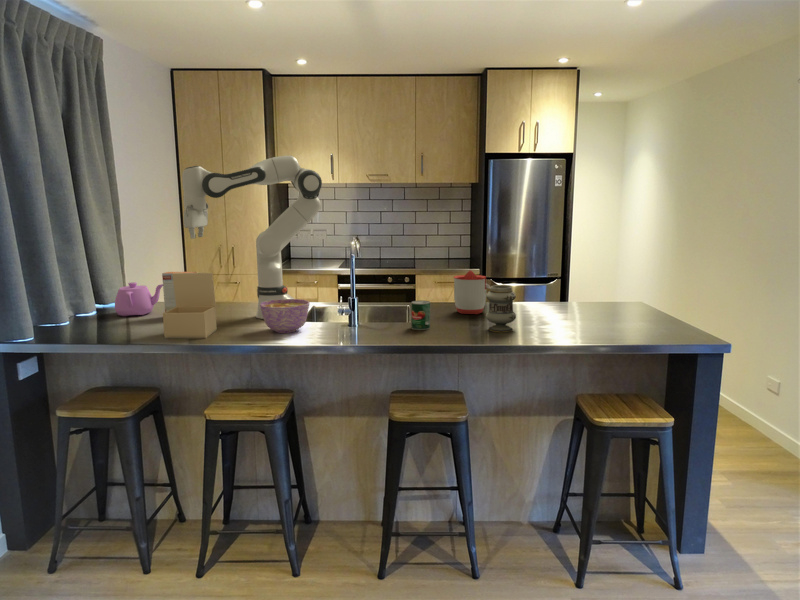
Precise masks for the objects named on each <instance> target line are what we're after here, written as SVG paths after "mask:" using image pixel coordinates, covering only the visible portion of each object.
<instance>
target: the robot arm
mask: <svg viewBox="0 0 800 600" xmlns="http://www.w3.org/2000/svg"><path fill="white" fill-rule="evenodd" d="M181 179H182V189H183V195H182V196H183V199H182V200H183V209H184V211H183V226H184V228H185V229H188V232H189V236H190V239H191V240H194V239H196V238H197V237H198V238H203V237H204V230H205V228H204V227H207V226H208V222H209V213H208V210H209V204H208V203H207V201H206V197H210V198H214V199H218V198H221V197H223V196H225V195H226V194H227V193H228V192H229V191H231V190H234V189H237V188H241V187H245V186H249V185H259V186H271V185H275V184H279V183H283V182H288V181H289V182H291V184H292V186H293V188H294V189H295V190H296V191H298V192H299V194H298V197H297V199H296V200H295V201H293V203H292V204H291V205H290V206H289V207H287V208H286V209H285V210H284V211H283V212H282V213H280V215H279V216H278V217H277V218H276V219H275V220H274V221H273V222H272V223H271V224H270V225H269V226H268V227H267V228H266V229H265V230H264V231H262V232H260V233H259V234H258V235H257V237H256V239H255V249H256V251H255V252H256V266H257V268H256V269H257V270H256V271H257V286H256V288H257V289H256V292H257V293H256V294H257V300H258V302H257V311H256V315H255V317H256V318H257V319H262V320H264V318H263V315H262V311H261V308H260V303H262V302H266V301H271V300H279V299H295V298H294V297H293V296H291V295H290V294H289V293H288V292H289V291H288V290H289V289H288V286H285V285H283V284H284V280H283V261H282V250H283V249H284V248H285V247H286V246H287V245H289V243H290V242H291V241H292V239H294V238H295V236H297V235H298V234H299V233H300V231H302V230H303V229H304V228H305V227H306V226H307V225H308V224H309V223H310V222H311V221H312V220H313V219H314V218H315V217H316V216H317V214H318V212H319V211H320V210H321V209H322V208H321V207H322V203H321V200H320V198H319V196H320V193H321V190H322V187H323V186H322V183H323V182H322V181H323V180H322V178H321V176H320V174H319V173H318V172H316V171H315V170H312V169H310V168H304V167H301V166H300V163H299V161H298V159H297V158H296V157H295V156H293V155H280V156H273V157H270V158H265V159H263V160H261V161H259V162H256V163H255V164H253V165H252V166H250V167H249V168H246V169H244V170H239V171H234V172H230V173H219V172H212V171H209V170H206V169H205V168H203V167H202V166H200V165H193V166H189V167H185V168H184V170H183V171H182V178H181ZM195 228H197V230H198V232H197V234H196V232H195V230H196V229H195ZM196 235H197V237H196Z"/></svg>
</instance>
